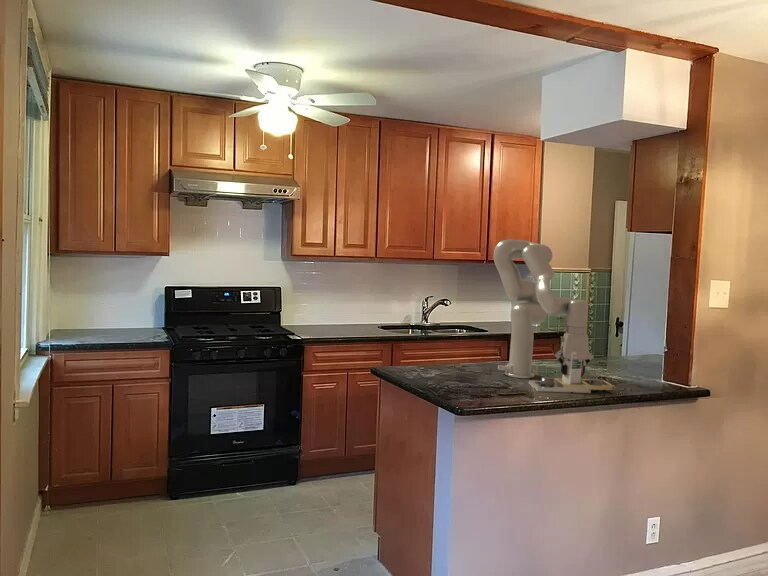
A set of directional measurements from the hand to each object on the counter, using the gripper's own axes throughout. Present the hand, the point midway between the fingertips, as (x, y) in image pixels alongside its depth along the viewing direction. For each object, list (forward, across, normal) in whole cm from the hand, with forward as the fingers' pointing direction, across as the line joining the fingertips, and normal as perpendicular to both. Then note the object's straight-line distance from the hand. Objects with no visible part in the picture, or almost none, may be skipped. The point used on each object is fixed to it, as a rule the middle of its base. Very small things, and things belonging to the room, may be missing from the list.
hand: (572, 374), depth 248 cm
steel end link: (+6, -5, 0) cm, 8 cm away
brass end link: (+6, +5, 0) cm, 8 cm away
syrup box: (+5, 0, 0) cm, 5 cm away
